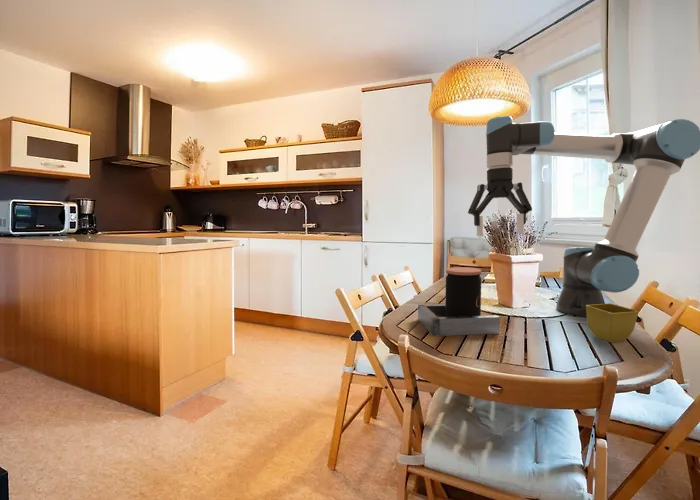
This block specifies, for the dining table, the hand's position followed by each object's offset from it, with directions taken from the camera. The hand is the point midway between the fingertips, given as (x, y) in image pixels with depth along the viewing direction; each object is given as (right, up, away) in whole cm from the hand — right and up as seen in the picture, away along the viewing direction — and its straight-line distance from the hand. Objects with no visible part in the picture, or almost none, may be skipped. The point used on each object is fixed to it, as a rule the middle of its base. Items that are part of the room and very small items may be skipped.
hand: (500, 235), depth 118 cm
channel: (-15, -29, -2) cm, 33 cm away
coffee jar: (-13, -29, -2) cm, 32 cm away
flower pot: (+24, -30, -16) cm, 41 cm away
